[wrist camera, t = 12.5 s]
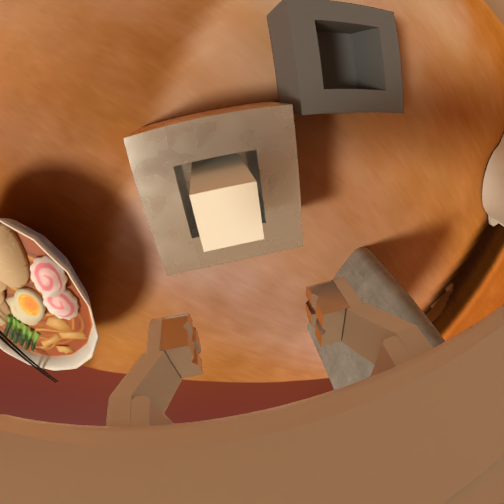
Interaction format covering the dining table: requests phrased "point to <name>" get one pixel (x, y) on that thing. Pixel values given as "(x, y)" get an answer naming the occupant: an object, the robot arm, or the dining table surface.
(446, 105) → the dining table surface
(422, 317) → the hip flask
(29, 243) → the ramen bowl
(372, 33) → the grey square socket block
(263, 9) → the dining table surface
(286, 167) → the port box
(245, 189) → the plug
